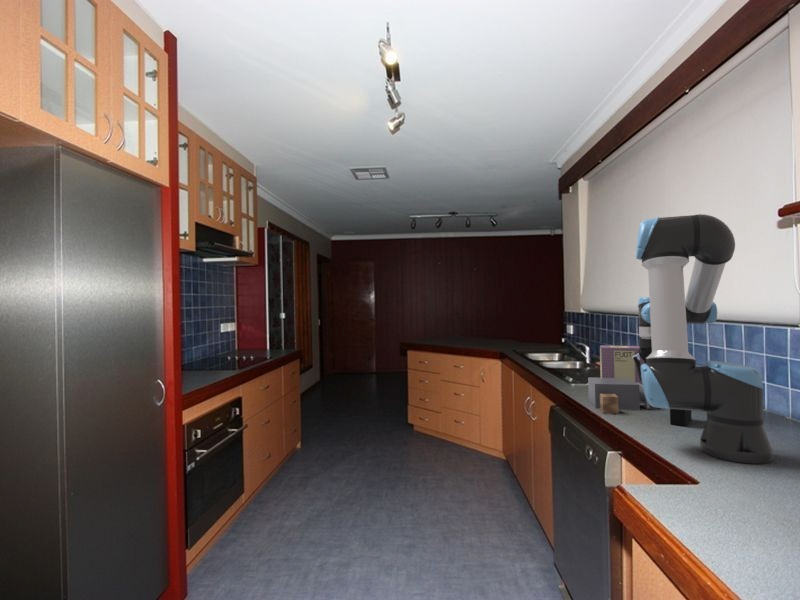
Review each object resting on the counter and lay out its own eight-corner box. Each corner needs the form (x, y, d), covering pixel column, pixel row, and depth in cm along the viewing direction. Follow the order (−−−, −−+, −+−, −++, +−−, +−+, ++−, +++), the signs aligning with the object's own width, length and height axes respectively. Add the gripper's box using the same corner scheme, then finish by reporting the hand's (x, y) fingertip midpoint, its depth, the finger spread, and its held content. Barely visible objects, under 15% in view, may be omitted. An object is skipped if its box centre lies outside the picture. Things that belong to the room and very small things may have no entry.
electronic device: (691, 420, 146) (691, 390, 146) (685, 427, 138) (684, 395, 138) (677, 418, 148) (676, 388, 148) (669, 424, 141) (669, 393, 141)
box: (643, 392, 189) (642, 346, 189) (647, 397, 180) (646, 348, 180) (600, 390, 195) (599, 345, 195) (602, 394, 186) (601, 347, 186)
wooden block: (603, 413, 156) (602, 396, 156) (600, 410, 161) (599, 393, 161) (618, 414, 155) (618, 397, 155) (615, 410, 160) (614, 394, 160)
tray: (601, 407, 164) (601, 388, 164) (594, 399, 177) (594, 381, 177) (651, 408, 160) (650, 389, 160) (640, 400, 173) (639, 382, 173)
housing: (595, 408, 164) (594, 383, 164) (588, 399, 178) (588, 377, 178) (639, 409, 161) (639, 384, 161) (629, 401, 174) (628, 378, 174)
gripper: (634, 338, 164) (635, 402, 164) (673, 338, 161) (674, 403, 161) (628, 337, 171) (630, 397, 171) (666, 337, 168) (667, 399, 168)
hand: (651, 400), depth 166 cm, fingers closed
